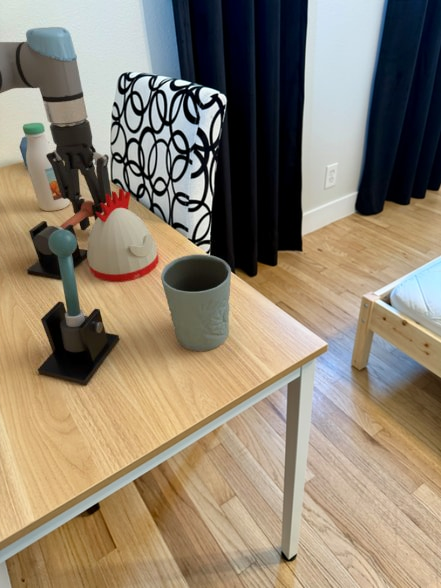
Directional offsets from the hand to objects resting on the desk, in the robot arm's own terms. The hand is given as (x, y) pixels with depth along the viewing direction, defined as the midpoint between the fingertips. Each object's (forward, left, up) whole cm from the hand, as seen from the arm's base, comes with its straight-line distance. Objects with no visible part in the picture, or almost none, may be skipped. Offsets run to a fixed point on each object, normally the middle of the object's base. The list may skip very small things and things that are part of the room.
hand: (93, 228), depth 97 cm
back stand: (0, -12, -1) cm, 13 cm away
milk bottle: (-18, +10, -1) cm, 21 cm away
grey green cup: (+35, -26, -1) cm, 43 cm away
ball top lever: (+19, -31, +10) cm, 38 cm away
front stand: (+19, -34, -1) cm, 39 cm away
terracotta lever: (0, -7, +3) cm, 8 cm away
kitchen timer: (+13, -9, -1) cm, 16 cm away
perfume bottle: (-41, +35, -1) cm, 54 cm away
